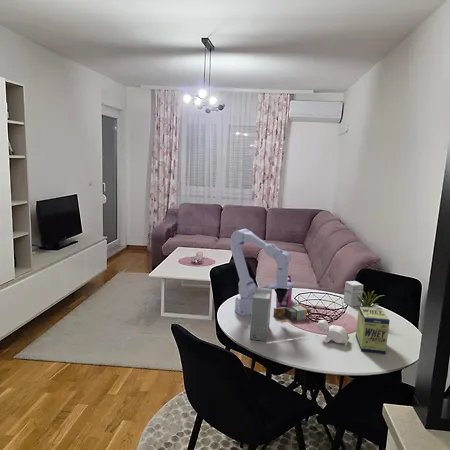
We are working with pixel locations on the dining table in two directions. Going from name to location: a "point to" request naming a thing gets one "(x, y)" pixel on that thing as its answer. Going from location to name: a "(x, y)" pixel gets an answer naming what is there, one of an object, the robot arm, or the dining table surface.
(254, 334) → the hard drive box
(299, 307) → the blue book
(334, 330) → the white animal figurine
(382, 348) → the protein box
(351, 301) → the supplement box
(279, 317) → the shelf
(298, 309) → the olive book
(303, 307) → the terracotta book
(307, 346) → the dining table surface
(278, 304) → the gum box
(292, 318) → the bookend
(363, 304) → the house plant
